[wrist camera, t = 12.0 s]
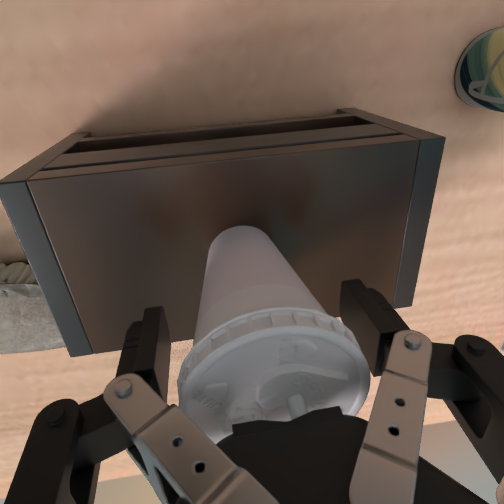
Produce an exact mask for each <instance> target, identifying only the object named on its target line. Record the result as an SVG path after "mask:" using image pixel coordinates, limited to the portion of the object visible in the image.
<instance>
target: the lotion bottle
mask: <svg viewBox="0 0 504 504" xmlns="http://www.w3.org/2000/svg"><path fill="white" fill-rule="evenodd" d="M455 85H456V90H457V93H458V95H459V97H460V98H461V99H462V100H463V101H464V102H465V103H467V104H469V105H471V106H475V107H478V108H483V109H488V110H494V111H499V112H504V27H500V28H495V29H492V30H489V31H487V32H485V33H483V34H481V35H480V36H478V37H477V38H476V39H475V40H474V41H473V42H472V43H471V44H470V45H469V46H468V47H467V48H466V50H465V51H464V53H463V55H462V56H461V58H460V61H459V63H458V66H457V69H456V75H455Z"/></svg>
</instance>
